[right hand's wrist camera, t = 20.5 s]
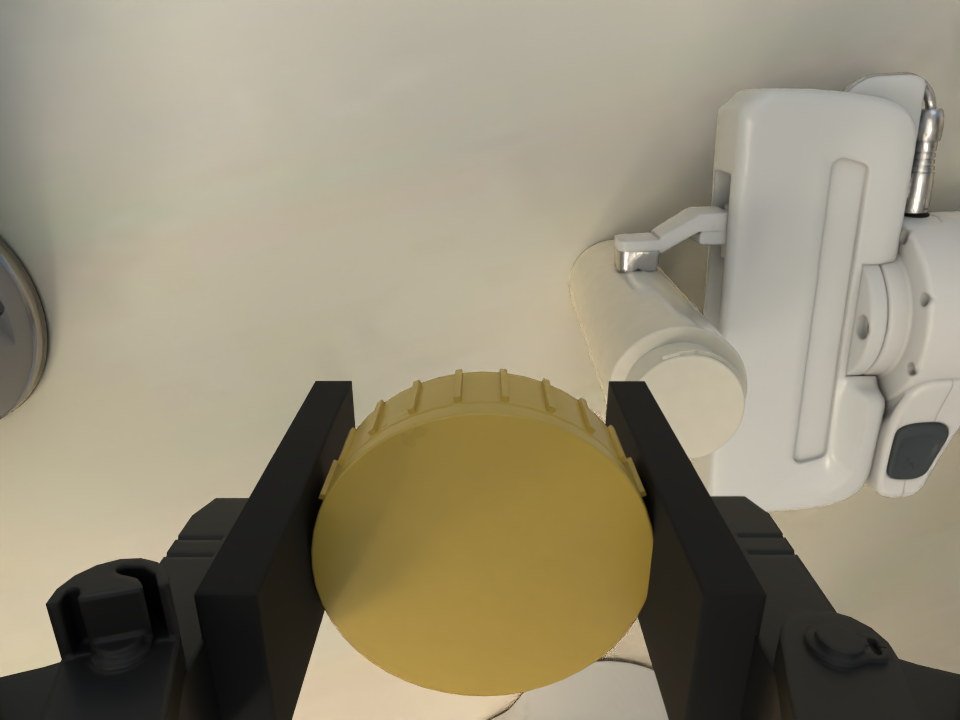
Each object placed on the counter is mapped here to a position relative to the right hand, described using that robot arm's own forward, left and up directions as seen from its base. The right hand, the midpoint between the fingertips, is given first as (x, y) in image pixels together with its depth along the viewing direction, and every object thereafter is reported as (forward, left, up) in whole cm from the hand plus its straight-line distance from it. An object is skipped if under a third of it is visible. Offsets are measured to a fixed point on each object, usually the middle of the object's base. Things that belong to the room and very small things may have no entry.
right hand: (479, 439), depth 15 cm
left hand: (+1, -7, -18) cm, 20 cm away
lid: (0, 0, +4) cm, 4 cm away
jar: (+1, -7, -25) cm, 26 cm away
